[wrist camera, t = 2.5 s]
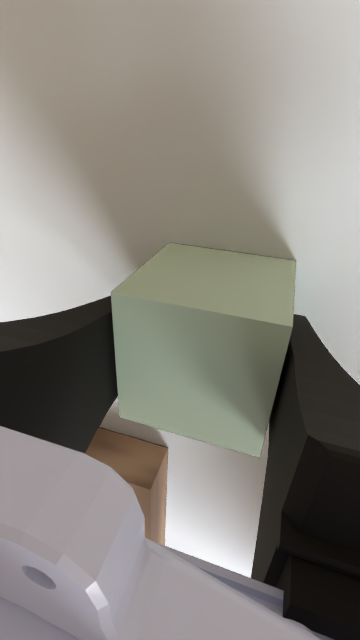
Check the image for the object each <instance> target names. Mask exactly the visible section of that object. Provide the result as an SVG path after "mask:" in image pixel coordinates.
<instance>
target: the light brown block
mask: <svg viewBox="0 0 360 640" xmlns="http://www.w3.org/2000/svg"><path fill="white" fill-rule="evenodd" d="M85 454H86V455H88V456H90V457H92V458H94V459H96V460H98V461H100V462H102V463H104V464H106V465H108V466H110V467H111V468H112V469H113V470H114V471H115V472H117V473H118V474H119V475H120V476H121V477H122V478H123V479H124V480H125V481H126V482H127V483H128V484H129V485H130V486H131V487H132V488H133V490H134V492H135V495H136V497H137V500H138V502H139V505H140V507H141V510H142V512H143V515H144V519H145V538H147V539H149V540H151V541H153V542H156V543H159V544H161V545H164V546H165V519H166V491H167V464H168V448H166V447H162V446H159V445H156V444H152V443H149V442H146V441H142V440H139V439H136V438H132V437H129V436H126V435H122V434H119V433H116V432H112V431H109V430H106V429H102V428H98V430H97V431H96V433H95V435H94V437H93V439H92V441H91V443H90V445H89V447H88V449H87V451H86V452H85Z"/></svg>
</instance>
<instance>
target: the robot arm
mask: <svg viewBox="0 0 360 640" xmlns="http://www.w3.org/2000/svg"><path fill="white" fill-rule="evenodd" d="M117 396H118V389H117V375H116V361H115V347H114V332H113V318H112V304H111V296H108V297H106V298H103V299H100V300H97V301H95V302H91V303H88V304H85V305H82V306H79V307H76V308H73V309H69V310H66V311H62V312H58V313H54V314H49V315H45V316H40V317H35V318H28V319H22V320H15V321H9V322H0V640H360V385H359V384H358V383H357V382H356V381H355V380H354V379H353V378H352V377H351V376H350V375H349V374H348V373H347V372H346V371H345V370H344V369H343V368H342V367H341V366H340V365H339V363H338V362H337V361H336V360H335V359H334V358H333V356H332V355H331V354H330V353H329V351H328V350H327V349H326V347H325V346H324V344H323V343H322V342H321V340H320V339H319V337H318V336H317V334H316V333H315V331H314V329H313V328H312V326H311V325H310V323H309V321H308V320H307V318H306V317H305V316H301V315H295V314H293V328H292V332H291V336H290V340H289V344H288V348H287V352H286V355H285V359H284V363H283V367H282V371H281V375H280V379H279V383H278V387H277V391H276V395H275V399H274V403H273V407H272V411H271V415H270V419H269V448H268V460H267V467H266V475H265V483H264V490H263V498H262V505H261V512H260V519H259V526H258V533H257V540H256V547H255V554H254V561H253V568H252V575H251V578H249V577H246V576H243V575H241V574H238V573H235V572H233V571H230V570H228V569H225V568H222V567H220V566H217V565H214V564H212V563H209V562H206V561H204V560H201V559H198V558H196V557H193V556H190V555H188V554H185V553H182V552H180V551H177V550H175V549H172V548H169V547H167V546H164V545H161V544H159V543H156V542H153V541H151V540H149V539H147V538H145V519H144V515H143V512H142V510H141V507H140V505H139V502H138V500H137V497H136V495H135V492H134V490H133V488H132V487H131V486H130V485H129V484H128V483H127V482H126V481H125V480H124V479H123V478H122V477H121V476H120V475H119V474H118V473H117V472H115V471H114V470H113V469H112V468H111V467H110V466H108V465H106V464H104V463H102V462H100V461H98V460H96V459H94V458H92V457H90V456H88V455H86V454H85V452H86V451H87V449H88V447H89V445H90V443H91V441H92V439H93V437H94V435H95V433H96V431H97V430H98V428H99V426H100V424H101V422H102V420H103V419H104V417H105V415H106V413H107V411H108V410H109V408H110V407H111V405H112V404H113V402H114V400H115V399H116V398H117Z"/></svg>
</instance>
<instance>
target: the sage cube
mask: <svg viewBox="0 0 360 640" xmlns="http://www.w3.org/2000/svg"><path fill="white" fill-rule="evenodd" d="M295 272H296V261H295V260H287V259H280V258H273V257H266V256H259V255H252V254H245V253H238V252H231V251H224V250H217V249H210V248H203V247H196V246H189V245H182V244H175V243H168V244H167V245H166V246H165V247H163V248H162V249H161V250H160V251H159V252H158V253H156V254H155V255H154V256H153V257H152V258H151V259H149V260H148V261H147V262H146V263H145V264H143V265H142V266H141V267H140V268H139V269H138V270H136V271H135V272H134V273H133V274H132V275H131V276H129V277H128V278H127V279H126V280H125V281H123V282H122V283H121V284H120V285H119V286H118V287H116V288H115V289H114V290H113V291H112V292H111V304H112V318H113V332H114V347H115V361H116V375H117V389H118V403H119V417H120V418H123V419H126V420H130V421H133V422H137V423H140V424H144V425H147V426H151V427H154V428H158V429H161V430H165V431H168V432H172V433H175V434H179V435H182V436H185V437H189V438H192V439H196V440H199V441H203V442H206V443H210V444H213V445H217V446H220V447H224V448H227V449H231V450H234V451H238V452H241V453H244V454H248V455H251V456H255V457H258V458H260V454H261V450H262V446H263V442H264V438H265V434H266V430H267V426H268V423H269V419H270V415H271V411H272V407H273V403H274V399H275V395H276V391H277V387H278V383H279V379H280V375H281V371H282V367H283V363H284V359H285V355H286V352H287V348H288V344H289V340H290V336H291V332H292V328H293V312H294V292H295Z"/></svg>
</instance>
